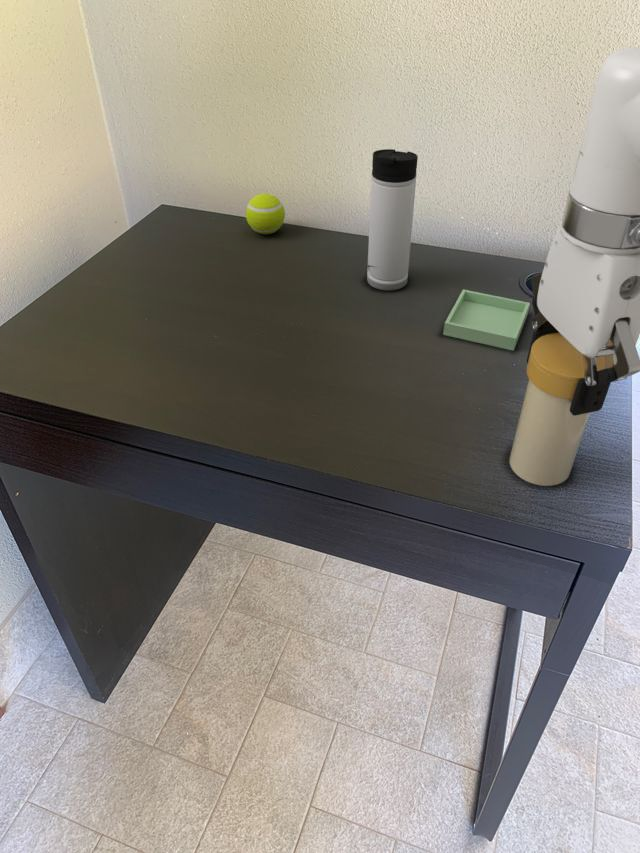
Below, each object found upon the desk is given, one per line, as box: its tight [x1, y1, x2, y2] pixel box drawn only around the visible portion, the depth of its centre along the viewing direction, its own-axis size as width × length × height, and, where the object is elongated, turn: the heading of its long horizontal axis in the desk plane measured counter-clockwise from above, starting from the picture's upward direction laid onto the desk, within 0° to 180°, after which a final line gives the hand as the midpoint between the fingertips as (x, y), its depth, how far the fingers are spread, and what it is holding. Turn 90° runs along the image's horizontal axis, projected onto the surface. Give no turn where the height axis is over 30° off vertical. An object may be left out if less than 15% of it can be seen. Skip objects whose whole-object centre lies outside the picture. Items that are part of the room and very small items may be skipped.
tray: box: [442, 289, 531, 352], centre depth 96 cm, size 10×10×2 cm
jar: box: [508, 378, 591, 487], centre depth 71 cm, size 7×7×14 cm
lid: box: [526, 333, 605, 399], centre depth 67 cm, size 8×8×3 cm
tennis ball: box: [245, 193, 286, 235], centre depth 117 cm, size 7×7×7 cm
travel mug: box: [366, 148, 419, 292], centre depth 99 cm, size 6×7×20 cm
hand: (562, 385), depth 68 cm, fingers closed on lid, 7 cm apart
